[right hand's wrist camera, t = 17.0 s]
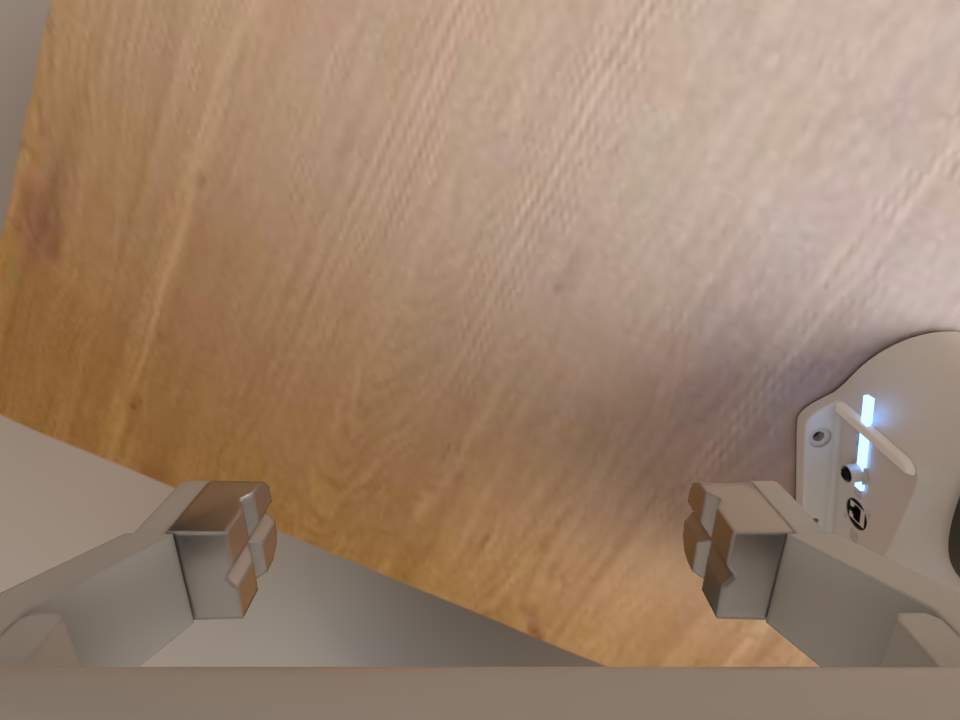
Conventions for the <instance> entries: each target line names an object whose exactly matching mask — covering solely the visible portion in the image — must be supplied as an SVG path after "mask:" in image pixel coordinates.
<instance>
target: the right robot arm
mask: <svg viewBox="0 0 960 720" xmlns="http://www.w3.org/2000/svg"><path fill="white" fill-rule="evenodd" d="M816 432H819V433H818V434H817V435H816V436H814V437H813V435H814V434H815V433H816ZM271 502H272V499H271V494H270V489H269V486H268V485H267V484H266V483H265V482H246V481H186V482H182V483H180V484H179V485H178V487H177V488H176V489H175V490H174V491H173V492H172V493H171V494H170V495H169V496H168V497H167V498H166V499H165V501H164V502H163V503H162V504H161V505H160V506H159V507H158V508H157V509H156V510H155V511H154V512H153V513H152V514H151V515H150V516H149V518H148V519H147V520H146V521H145V522H144V523H143V524H142V525H141V526H140V527H139V528H138V529H137V530H136V531H135V533H134V534H123V535H121V536H119V537H117V538H115V539H112V540H110V541H108V542H106V543H104V544H102V545H100V546H98V547H96V548H94V549H91V550H89V551H87V552H85V553H83V554H81V555H79V556H77V557H75V558H73V559H71V560H69V561H66V562H64V563H62V564H60V565H58V566H56V567H54V568H52V569H50V570H48V571H46V572H43V573H41V574H39V575H37V576H35V577H33V578H31V579H29V580H27V581H25V582H22V583H20V584H18V585H16V586H14V587H12V588H10V589H8V590H6V591H4V592H1V593H0V720H960V332H957V331H942V332H933V333H927V334H923V335H919V336H915V337H912V338H909V339H906V340H904V341H901V342H899V343H897V344H895V345H893V346H890V347H889V348H887V349H885V350H883V351H882V352H880V353H878V354H877V355H875V356H874V357H873V358H871V359H870V360H868V361H867V362H866V363H865V364H864V365H862V366H861V367H860V368H859V369H858V370H857V371H856V372H855V373H854V374H853V375H852V376H851V377H850V378H849V379H848V380H847V381H846V382H845V383H844V384H843V385H842V386H841V387H839V388H838V389H837V390H836V391H834V392H833V393H831V394H829V395H827V396H825V397H823V398H821V399H819V400H817V401H815V402H813V403H812V404H810V405H809V406H807V407H806V408H805V409H803V410H802V411H801V413H800V414H799V416H798V418H797V440H796V500H795V499H794V498H793V497H792V496H791V495H790V494H789V493H788V492H787V491H786V490H785V489H784V488H783V486H782V485H781V484H780V483H778V482H775V481H773V480H768V481H746V482H704V483H693V485H692V487H691V489H690V493H689V499H688V502H689V504H690V505H691V507H692V509H693V510H694V512H693V513H692V514H691V515H690V516H689V517H688V518H687V519H686V520H685V524H684V532H683V541H684V551H685V554H686V557H687V561H688V563H689V565H690V567H691V569H692V571H693V572H694V573H696V574H697V575H699V576H700V577H702V578H703V579H704V581H703V587H702V591H703V592H704V594H705V596H706V598H707V600H708V602H709V604H710V606H711V608H712V610H713V611H714V613H715V615H716V617H717V618H722V619H758V620H766V622H767V623H768V624H769V625H770V626H771V627H773V628H774V629H775V630H776V631H778V632H779V633H780V634H781V635H782V636H784V637H785V638H786V639H787V640H789V641H790V642H791V643H792V644H793V645H795V646H796V647H797V648H798V649H800V650H801V651H802V652H803V653H804V654H806V655H807V656H808V657H809V658H811V659H812V660H813V661H814V662H815V663H817V664H818V665H819V666H820V667H140V666H141V665H142V664H143V663H145V662H146V661H147V660H148V659H150V658H151V657H152V656H153V655H155V654H156V653H157V652H158V651H159V650H161V649H162V648H163V647H164V646H166V645H167V644H168V643H169V642H170V641H172V640H173V639H174V638H175V637H176V636H178V635H179V634H180V633H181V632H183V631H184V630H185V629H186V628H188V627H189V626H190V625H191V624H192V623H194V620H202V619H236V618H243V617H244V615H245V613H246V612H247V610H248V608H249V606H250V604H251V602H252V600H253V598H254V596H255V594H256V592H257V591H258V587H257V581H256V579H257V578H258V577H260V576H261V575H263V574H264V573H266V572H267V571H268V569H269V567H270V565H271V563H272V561H273V558H274V553H275V549H276V545H277V530H276V523H275V520H274V519H273V518H272V517H271V516H270V515H269V514H268V513H267V512H266V510H267V509H268V507H269V505H270V504H271Z"/></svg>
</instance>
